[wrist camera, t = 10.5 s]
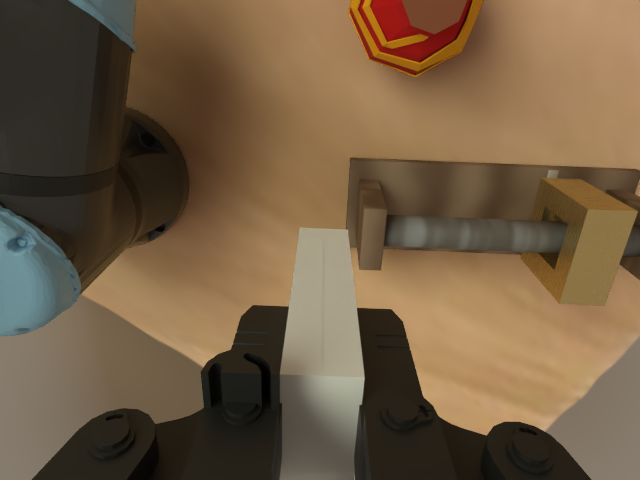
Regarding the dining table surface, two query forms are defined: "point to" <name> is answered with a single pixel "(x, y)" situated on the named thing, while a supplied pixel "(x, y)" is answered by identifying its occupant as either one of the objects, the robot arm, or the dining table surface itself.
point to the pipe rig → (467, 207)
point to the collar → (580, 240)
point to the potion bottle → (413, 31)
